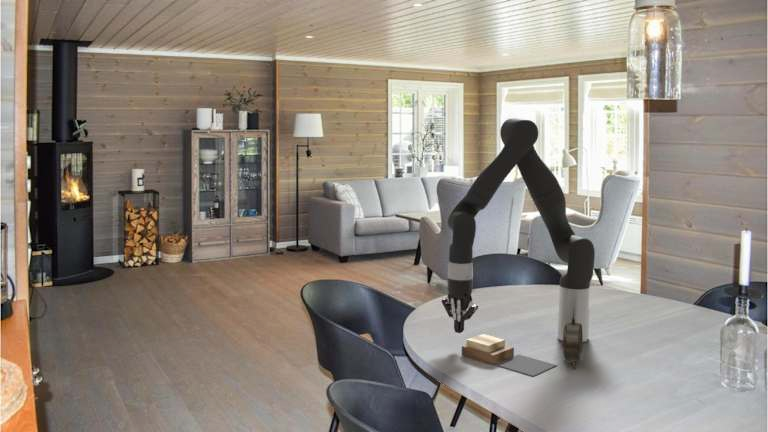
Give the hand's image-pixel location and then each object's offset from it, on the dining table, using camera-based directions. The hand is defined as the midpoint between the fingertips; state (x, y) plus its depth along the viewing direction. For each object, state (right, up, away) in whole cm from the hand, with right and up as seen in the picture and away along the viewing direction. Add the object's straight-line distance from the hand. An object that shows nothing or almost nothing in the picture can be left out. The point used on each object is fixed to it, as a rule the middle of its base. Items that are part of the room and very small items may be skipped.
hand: (458, 332), depth 213 cm
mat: (+17, -7, -14) cm, 24 cm away
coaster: (+7, -3, -7) cm, 10 cm away
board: (+8, -6, -7) cm, 12 cm away
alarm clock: (+31, -7, -13) cm, 34 cm away
